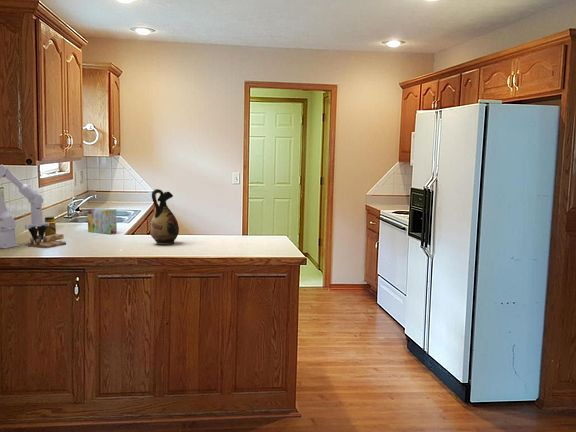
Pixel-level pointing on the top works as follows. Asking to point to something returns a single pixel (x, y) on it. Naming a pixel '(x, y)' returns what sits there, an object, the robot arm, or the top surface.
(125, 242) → the top surface
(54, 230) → the condiment
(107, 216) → the snack box
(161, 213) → the ceramic jug
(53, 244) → the wooden tray
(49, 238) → the oak leg
